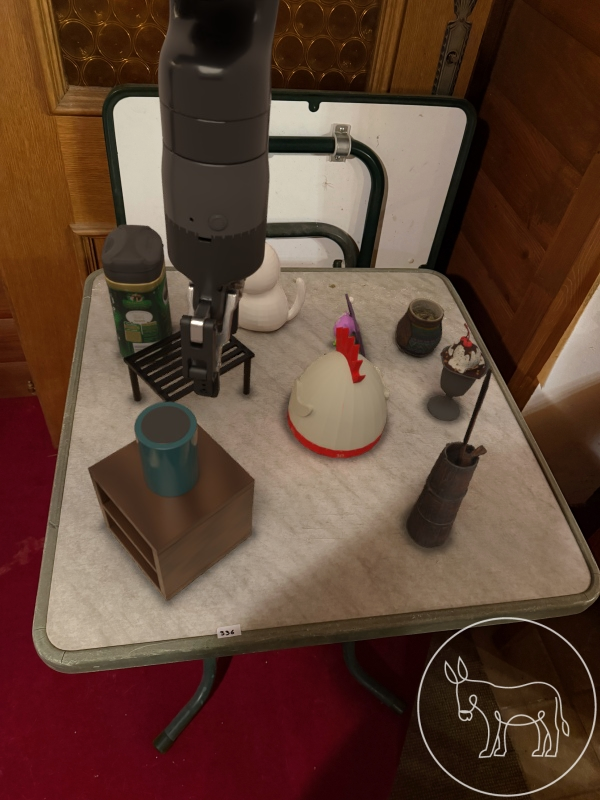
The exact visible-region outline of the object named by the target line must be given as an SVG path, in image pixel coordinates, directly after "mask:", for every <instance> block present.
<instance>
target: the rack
mask: <svg viewBox="0 0 600 800" xmlns="http://www.w3.org/2000/svg"><path fill="white" fill-rule="evenodd" d="M217 333H220V332H217ZM170 343H172V344H170ZM168 344H170V345H169V346H167V347H165V348H163V349H161V350H159V351H157V352H155V353H153V354H151V355H149V356H147V357H145V358H143V359H141V360H139V361H137V362H135V361H136V360H138V359H140V358H142V357H144V356H146V355H148V354H150V353H152V352H154V351H156V350H158V349H160V348H162V347H164V346H166V345H168ZM230 350H231V351H230ZM167 354H168V356H166V357H164V358H162V359H160V360H158V361H156V362H153V361H155V360H157V359H159V358H161V357H163V356H165V355H167ZM223 354H224V355H223ZM241 354H242V355H241ZM255 357H256V352H254V351H252V350H251V349H250V348H249V347H248V346H247V345H245V344H244V343H243V342H241V340H239V339H238V338H237V337H236V336H234V334H230V339H229V341H228V342H227V343H225V344H223V346H222V354H221V361H220V362H221V368H220V377H222V376H223V375H224V374H226V373H229V372H230V371H232V370H233V369H235V368H237V367H238V366H241V365H242V364H243V376H242V377H243V378H242V394H243V395H244V396H248V395H250V393H251V375H252V359H255ZM234 358H235V359H234ZM122 360H123V363H125V364H126V365H127V368H128V375H129V380H130V386H131V390H132V396H133V400H134V402H136V403H139V402H141V401H142V394H141V388H140V383H139V378H140V379H141V380H142V381H143V382H144V383H145V384H146V385H147V386H148V387H149V388H150V389H151V390H152V391H153V392H154V393H155V394H156V395H157V396H158V397H159V398H160V399H161V400H162V402H175V403H177V402H178V401H179V400H181V399H183V398H185V397H186V396H189V395H190V394H192V393H194V388H193V378H184V377H183V375H182V353H181V332H180V330H178V331H176V332H174V333H173V334H172V335H170V336H168V337H166V338H164V339H162V340H160V341H158V342H156V343H154V344H152V345H150V346H148V347H146V348H144V349H142V350H140V351H138V352H136V353H134V354H132V355H130V356H127V357H125V358H124V357H122ZM229 361H230V362H229ZM227 362H228V363H227ZM188 384H189V385H188ZM184 386H185V387H184ZM183 387H184V388H183ZM181 388H182V389H181ZM179 389H180V390H179ZM177 390H178V391H177ZM172 393H173V394H172ZM170 394H171V395H170Z"/></svg>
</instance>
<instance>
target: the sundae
mask: <svg viewBox="0 0 600 800" xmlns="http://www.w3.org/2000/svg"><path fill="white" fill-rule="evenodd" d="M463 327H464V328H465V329H466V331H467V334H466V335H463V336H462V335H461V336H460V338H459V341H456V342H453V344H450V345H446V346H445V347H444V348H442V351H441V352H440V353H439V356H440V358H441V364H442V370H441V373H440V379H439V387H440V389H441V390H442V391H443V393H444V394H445V395H441V394H437V395H433V396H432V397H430V398H429V399H428V401H427V405H426V406H427V409H428V410H427V411H429V413H430V414H431V416H433V417H434V418H436V419H438V420H441V421H446V422H451V421H454V420H456V419H458V418H459V416H460V414H461V408H460V405H459V404H458V402H456V401H455V400H454V398H460V397H463V396H464V395H466V394H467V392H468V391H469V390H470V389H471V388H472V386H473V385H474V384H475V382H476V381H477V380H481V379H482V378H483V377H485V376H486V372H487V370H488V369H489V368H490V367H491V364H490V361H489V359H488V358H487V357H486V356H485V355H484V353H482V351H481V350H480V348H479V346H478V345H476V344H475V343H473V341H472V340H470V335H471V334H470V329H469V325H468V324H467V323H466V322H464V323H463Z"/></svg>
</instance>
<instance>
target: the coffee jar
mask: <svg viewBox="0 0 600 800" xmlns="http://www.w3.org/2000/svg"><path fill="white" fill-rule="evenodd" d="M164 246H165V245H164V243H163V238H162V237H161V235H160V234H159V233H158V232H157V231H156V230H154V229H153V228H152V227H151V226H149V225H143V224H120V225H118V226H117V227H115V228H114V229H112V230H111V231H110V232H109V233H108V235H106V237H105V240H104V242H103V246H102V249H101V255H100V257H101V258H100V259H101V264H102V270H103V275H104V276H103V277H104V279H105V282H106V286H107V291H108V297H109V300H110V305H111V310H112V316H113V320H114V326H115V331H116V338H117V343H118V349H119V353H120V355H121V356H122V358H125V357H127V356H130V355H132V354H134V353H136V352H138V351H140V350H142V349H144V348H146V347H148V346H150V345H152V344H154V343H156V342H158V341H160V340H162V339H164V338H166V337H168V336H170V335H172V334H174V333H173V322H172V315H171V308H170V297H169V287H168V277H167V268H166V259H165V250H164V248H165V247H164ZM172 343H173V342H172ZM172 343H170V344H172ZM170 344H168V345H166V346H164V347H162V348H160V349H158V350H156V351H154V352H152V353H150V354H148V355H146V356H144V357H142V358H140V359H138V360H136V361H135V362H137V361H139V360H141V359H143V358H145V357H147V356H149V355H151V354H153V353H155V352H157V351H159V350H161V349H163V348H165V347H167V346H169V345H170ZM168 355H169V354H167V355H165V356H163V357H161V358H159V359H157V360H155V361H153V362H152V363H154V362H156V361H158V360H160V359H162V358H164V357H166V356H168Z"/></svg>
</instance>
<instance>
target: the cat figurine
mask: <svg viewBox="0 0 600 800" xmlns="http://www.w3.org/2000/svg"><path fill="white" fill-rule="evenodd" d="M281 271H282V268H281V261H280V257H279V254H278V253H277V251H276V249H275V248H274V247H273V246H272V245H271V244H270V243H269V242H267V241H266V242H265V256H264V261H263V263H262V265H261V267H260V268H259V269H258V270H257V271H256V272H255V273H254V274H253V275H251V276H249V277H248V278H246V281H245V285H244V291H243V296H242V298H241V300H240V301H239V320H238V327H240V328H242V329H245V330H249V331H256V332H274V331H277V330H278V329H280V328H282V327H283V326H284V325H285V323H286V322H289V321H291V320H292V319H294V318H295V317H296V316H297V315H298V314H299V313H300V311H301V310H302V308H303V306H304V303H305V301H306V298H307V297H306V296H307V286H306V282H305V281H304V279H303V278H302V277H297V278H296V279H295V287H296V296H295V300H294V302H293V304H292V306H291V307H290V308H289V301H288V298H287V295H286V292H285V291H284V289H283V287H282V285H281V283H279V280H280V277H281V274H282V273H281Z"/></svg>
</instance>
